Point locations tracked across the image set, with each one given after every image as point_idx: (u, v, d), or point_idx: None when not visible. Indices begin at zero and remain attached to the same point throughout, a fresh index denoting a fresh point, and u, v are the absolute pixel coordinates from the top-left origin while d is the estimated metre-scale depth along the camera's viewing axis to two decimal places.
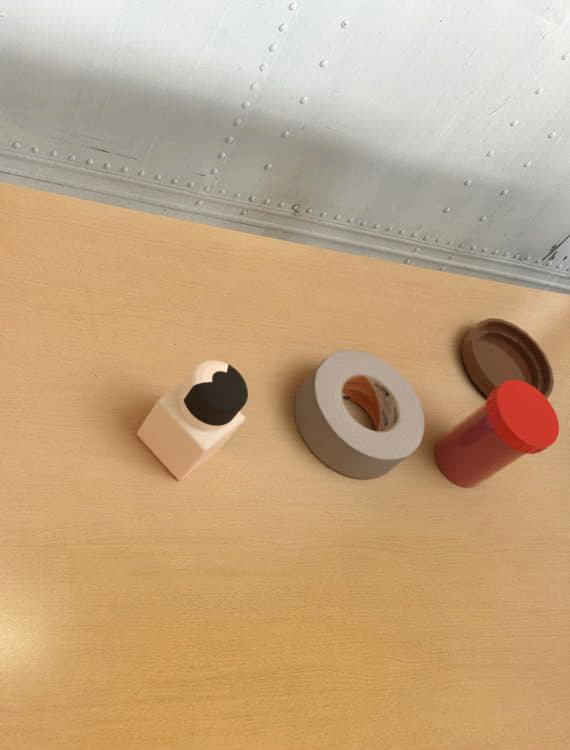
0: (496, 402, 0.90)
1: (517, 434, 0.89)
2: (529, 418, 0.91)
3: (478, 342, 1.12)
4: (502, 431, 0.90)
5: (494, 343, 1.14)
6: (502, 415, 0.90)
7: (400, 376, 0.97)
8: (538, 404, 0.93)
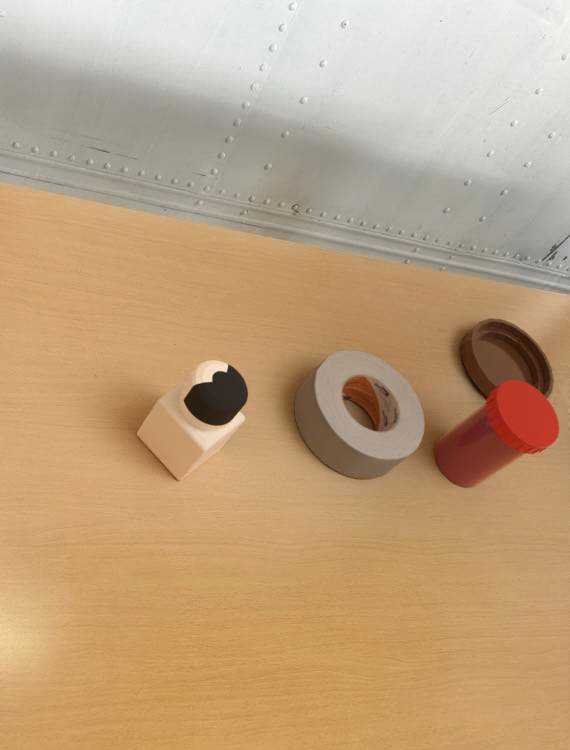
0: (496, 402, 0.90)
1: (517, 434, 0.89)
2: (529, 418, 0.91)
3: (478, 342, 1.12)
4: (502, 431, 0.90)
5: (494, 343, 1.14)
6: (502, 415, 0.90)
7: (400, 376, 0.97)
8: (538, 404, 0.93)
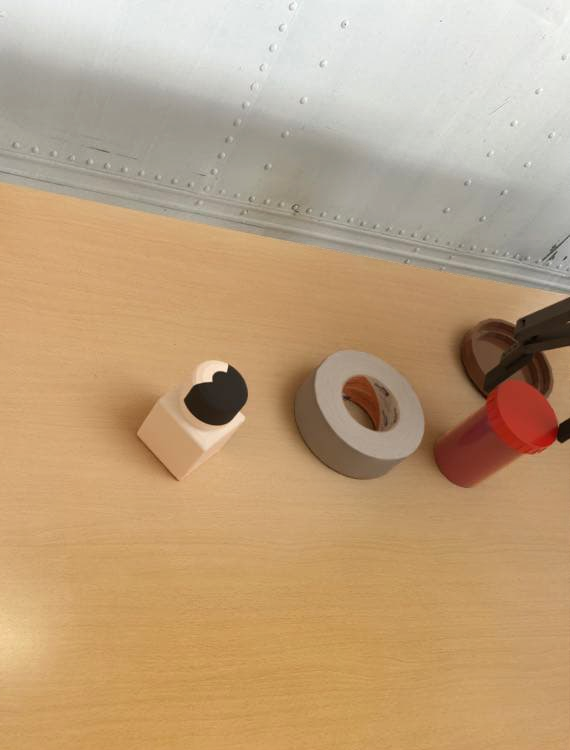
0: (496, 402, 0.90)
1: (517, 435, 0.89)
2: (529, 418, 0.91)
3: (478, 342, 1.12)
4: (502, 431, 0.90)
5: (494, 343, 1.14)
6: (502, 415, 0.90)
7: (400, 376, 0.97)
8: (538, 405, 0.93)
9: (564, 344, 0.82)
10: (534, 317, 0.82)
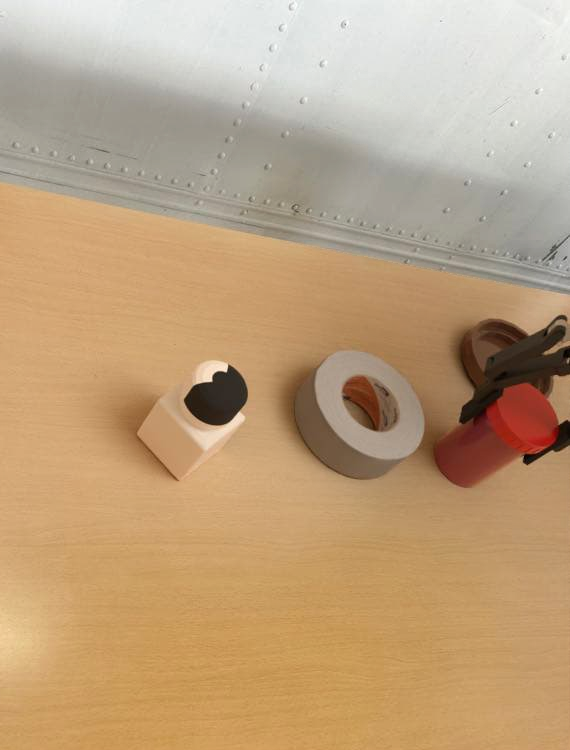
0: (496, 402, 0.90)
1: (517, 434, 0.89)
2: (529, 418, 0.91)
3: (478, 342, 1.12)
4: (502, 431, 0.90)
5: (494, 343, 1.14)
6: (502, 415, 0.90)
7: (400, 376, 0.97)
8: (538, 404, 0.93)
9: (531, 378, 0.86)
10: (501, 355, 0.87)
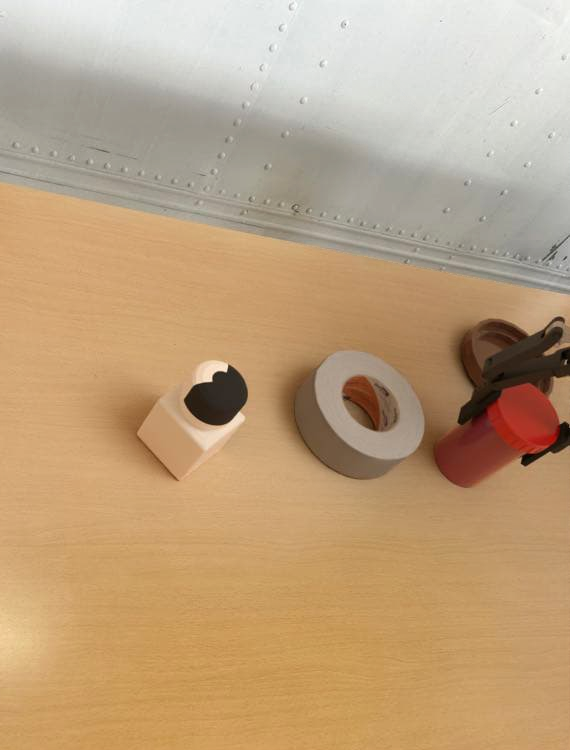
0: (535, 445, 0.90)
1: (557, 434, 0.92)
2: (534, 413, 0.92)
3: (478, 342, 1.12)
4: None
5: (494, 343, 1.14)
6: (547, 444, 0.90)
7: (400, 376, 0.97)
8: (514, 395, 0.92)
9: (528, 380, 0.87)
10: (499, 356, 0.87)
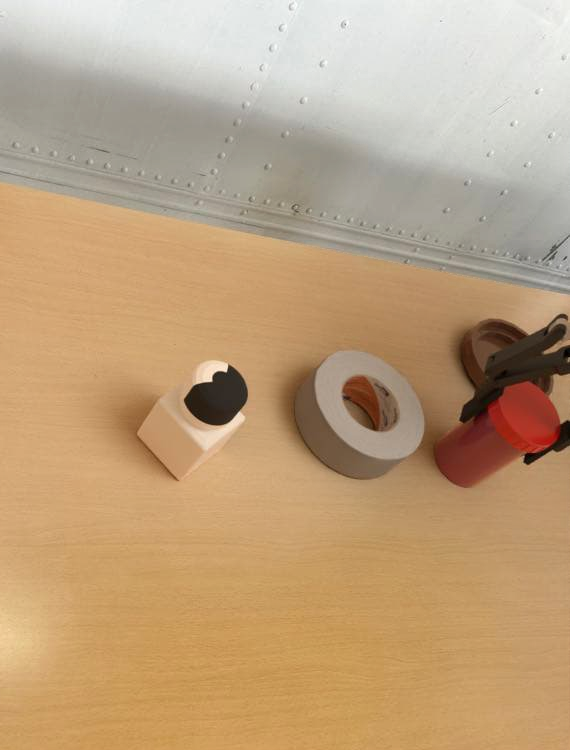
0: (558, 418, 0.93)
1: (536, 387, 0.94)
2: (528, 405, 0.92)
3: (478, 342, 1.12)
4: None
5: (494, 343, 1.14)
6: (552, 404, 0.94)
7: (400, 376, 0.97)
8: (521, 421, 0.90)
9: (531, 377, 0.86)
10: (502, 354, 0.87)
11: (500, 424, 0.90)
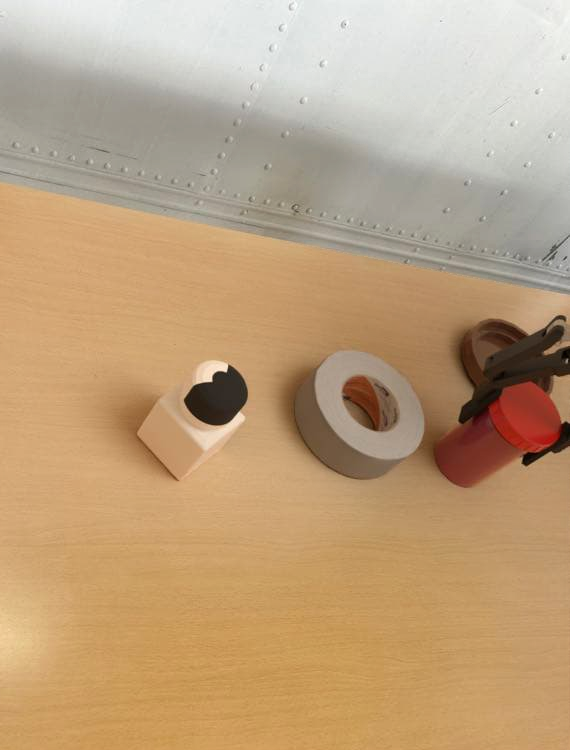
0: None
1: None
2: (525, 410, 0.91)
3: (478, 342, 1.12)
4: None
5: (494, 343, 1.14)
6: None
7: (400, 376, 0.97)
8: (546, 425, 0.91)
9: (529, 378, 0.87)
10: (500, 355, 0.87)
11: (547, 447, 0.91)
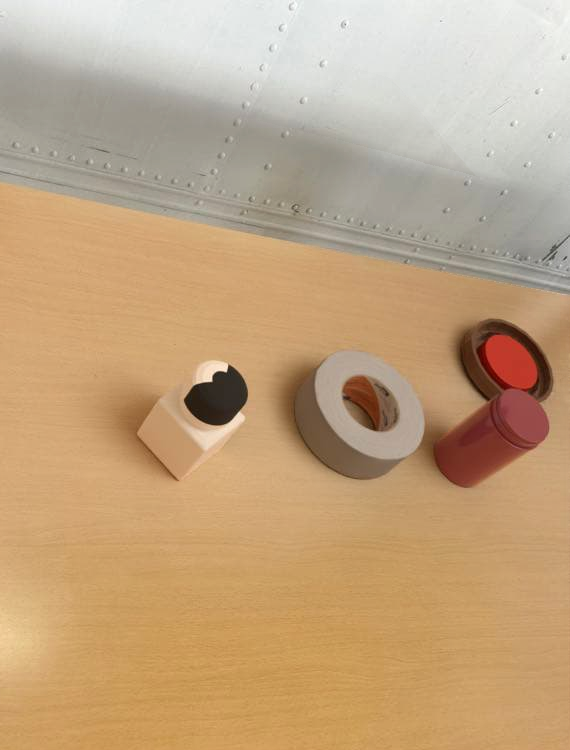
0: (519, 388, 1.09)
1: (536, 377, 1.11)
2: (516, 361, 1.11)
3: (478, 342, 1.12)
4: None
5: None
6: (529, 386, 1.10)
7: (400, 376, 0.97)
8: (498, 349, 1.11)
9: None
10: None
11: None
